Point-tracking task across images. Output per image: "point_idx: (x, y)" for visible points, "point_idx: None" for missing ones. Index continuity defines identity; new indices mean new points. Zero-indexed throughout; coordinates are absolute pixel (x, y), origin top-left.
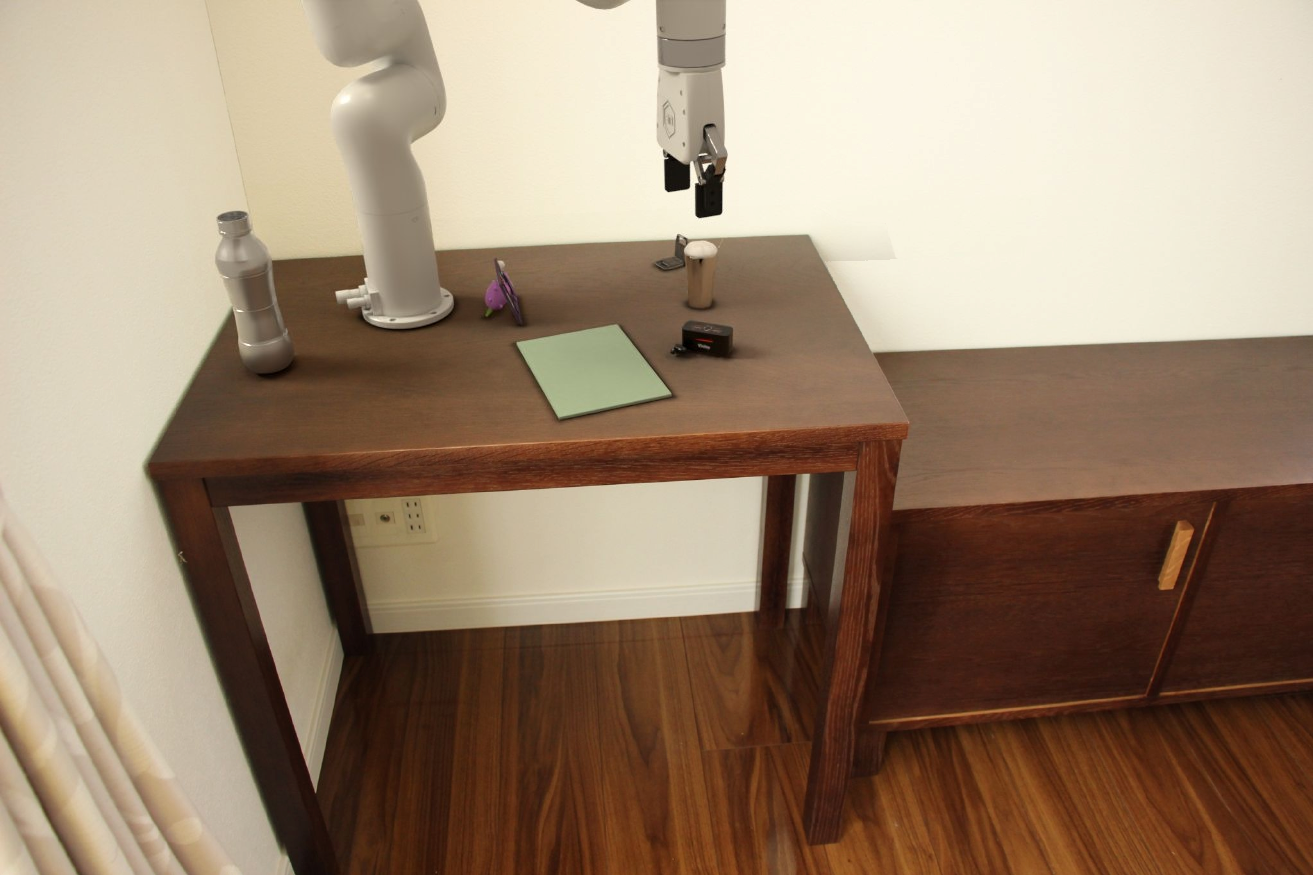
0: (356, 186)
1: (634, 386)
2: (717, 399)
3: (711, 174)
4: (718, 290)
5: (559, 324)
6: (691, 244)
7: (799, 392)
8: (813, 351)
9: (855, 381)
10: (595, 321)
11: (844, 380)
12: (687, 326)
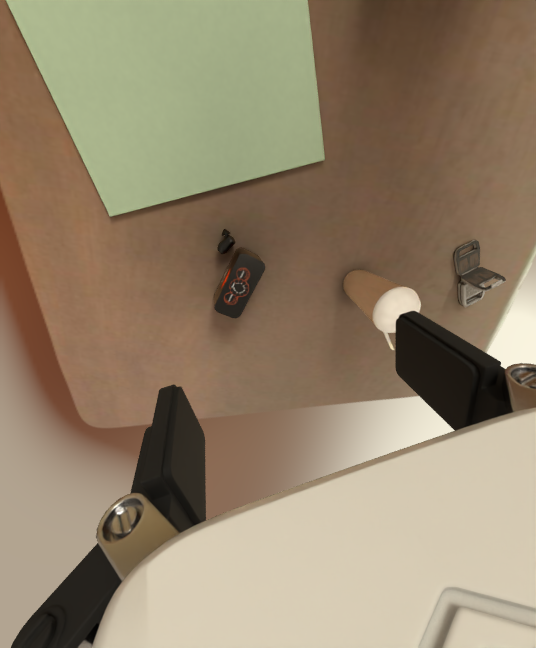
0: None
1: (128, 161)
2: (109, 274)
3: (28, 622)
4: None
5: (354, 51)
6: (406, 301)
7: (133, 360)
8: (223, 381)
9: None
10: (348, 124)
11: None
12: (248, 261)
